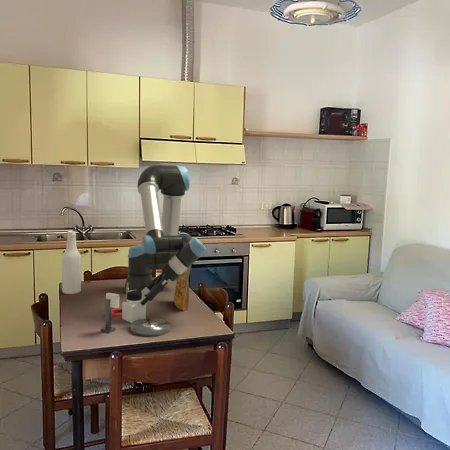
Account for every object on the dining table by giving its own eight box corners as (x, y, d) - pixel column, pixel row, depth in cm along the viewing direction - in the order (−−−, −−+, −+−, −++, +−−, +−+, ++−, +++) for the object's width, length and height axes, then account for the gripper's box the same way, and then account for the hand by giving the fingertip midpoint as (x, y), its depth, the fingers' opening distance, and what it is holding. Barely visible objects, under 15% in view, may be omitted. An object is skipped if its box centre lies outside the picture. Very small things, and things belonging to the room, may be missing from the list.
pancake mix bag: (185, 299, 224) (187, 241, 221) (194, 311, 206) (196, 249, 203) (171, 300, 223) (173, 242, 219) (179, 312, 204) (181, 249, 201)
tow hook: (119, 319, 194) (136, 313, 201) (118, 289, 192) (135, 284, 199) (106, 314, 199) (123, 309, 206) (105, 285, 197) (122, 280, 204)
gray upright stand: (107, 328, 181) (107, 291, 179) (120, 330, 179) (120, 294, 177) (100, 331, 177) (100, 294, 176) (113, 334, 175) (114, 296, 173)
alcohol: (79, 294, 225) (79, 232, 221) (60, 294, 224) (60, 232, 220) (82, 289, 233) (82, 230, 230) (63, 289, 232) (63, 229, 228)
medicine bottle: (146, 319, 193) (146, 291, 191) (131, 323, 188) (132, 294, 186) (136, 315, 198) (136, 287, 196) (121, 318, 193) (122, 290, 191)
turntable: (144, 320, 192) (144, 316, 191) (176, 326, 186) (176, 322, 186) (122, 332, 178) (122, 326, 178) (156, 339, 172) (156, 333, 172)
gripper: (181, 282, 180) (141, 320, 180) (179, 268, 204) (143, 302, 204) (168, 269, 178) (127, 307, 178) (167, 256, 203) (131, 290, 203)
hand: (136, 304), depth 191 cm, fingers open, 13 cm apart
